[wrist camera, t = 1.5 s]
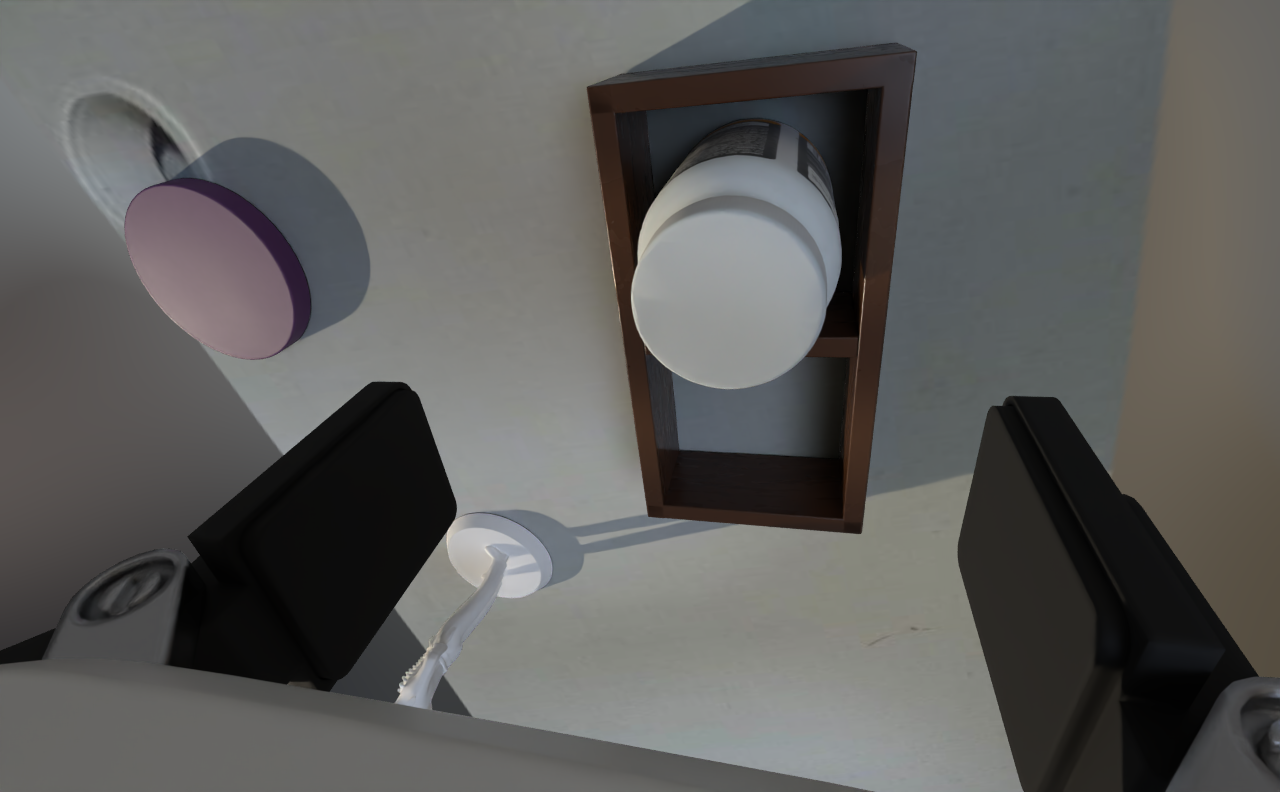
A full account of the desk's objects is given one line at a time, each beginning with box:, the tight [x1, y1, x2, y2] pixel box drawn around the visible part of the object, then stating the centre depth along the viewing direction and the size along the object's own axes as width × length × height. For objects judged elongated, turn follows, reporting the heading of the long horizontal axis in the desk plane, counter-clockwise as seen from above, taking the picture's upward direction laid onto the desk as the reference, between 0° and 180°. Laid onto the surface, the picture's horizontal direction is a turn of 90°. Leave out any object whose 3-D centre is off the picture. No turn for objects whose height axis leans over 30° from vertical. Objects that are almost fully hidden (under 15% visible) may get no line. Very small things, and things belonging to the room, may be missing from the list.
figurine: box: [395, 513, 553, 710], centre depth 32 cm, size 7×7×12 cm
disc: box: [125, 178, 311, 360], centre depth 29 cm, size 9×9×1 cm
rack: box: [587, 43, 917, 534], centre depth 23 cm, size 17×9×4 cm, turn 7°
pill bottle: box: [631, 118, 842, 389], centre depth 18 cm, size 6×6×10 cm
